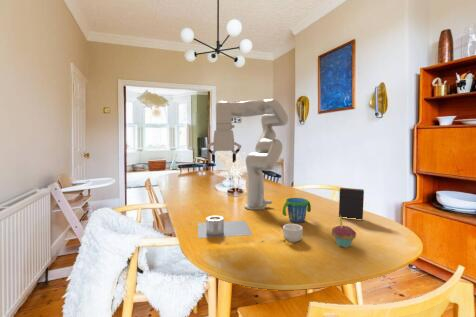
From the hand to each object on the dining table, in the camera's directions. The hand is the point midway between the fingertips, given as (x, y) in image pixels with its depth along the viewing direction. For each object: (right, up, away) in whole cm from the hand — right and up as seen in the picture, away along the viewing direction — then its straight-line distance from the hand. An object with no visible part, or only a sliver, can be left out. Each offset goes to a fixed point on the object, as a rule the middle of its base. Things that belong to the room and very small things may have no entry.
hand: (223, 162), depth 129 cm
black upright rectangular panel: (+64, -28, +3) cm, 70 cm away
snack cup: (+36, -29, 0) cm, 46 cm away
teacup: (+29, -31, -23) cm, 48 cm away
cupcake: (+47, -31, -29) cm, 63 cm away
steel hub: (-3, -29, -20) cm, 35 cm away
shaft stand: (+1, -30, -15) cm, 34 cm away
